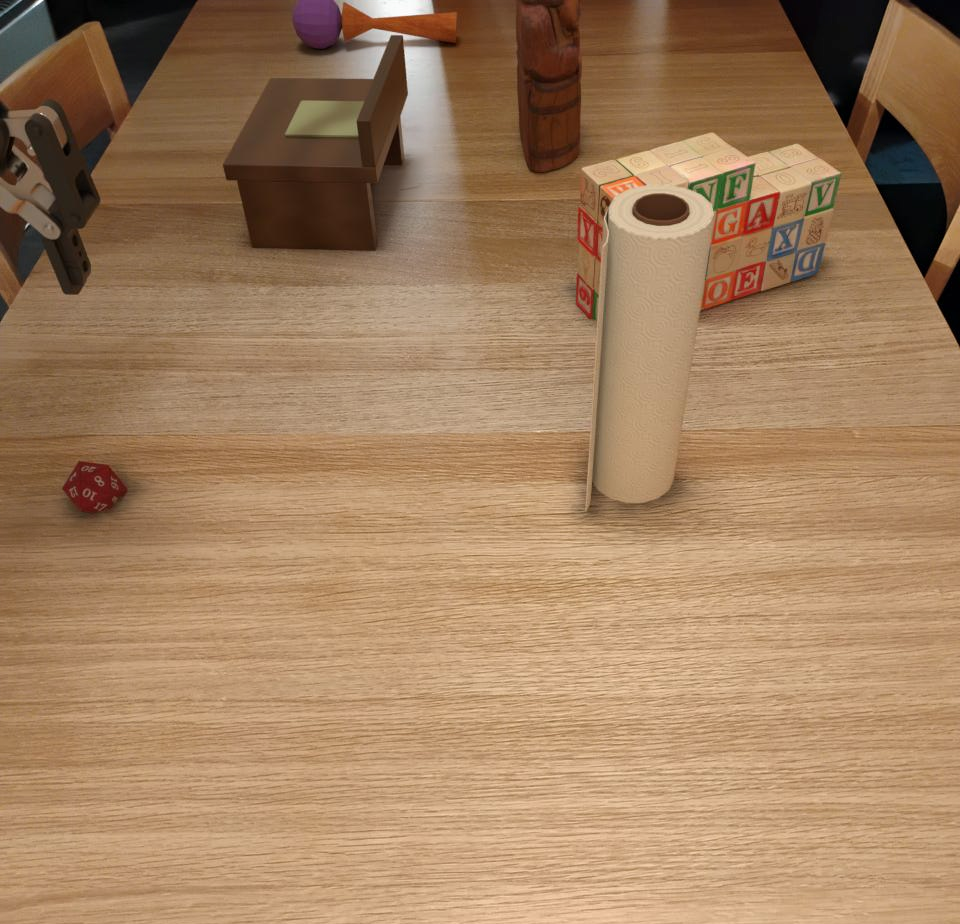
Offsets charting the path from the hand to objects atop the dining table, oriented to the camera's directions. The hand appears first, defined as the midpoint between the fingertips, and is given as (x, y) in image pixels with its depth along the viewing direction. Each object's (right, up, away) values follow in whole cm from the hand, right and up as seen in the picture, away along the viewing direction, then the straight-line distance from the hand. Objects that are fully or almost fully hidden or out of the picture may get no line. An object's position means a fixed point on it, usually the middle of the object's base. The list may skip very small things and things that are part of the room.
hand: (10, 287), depth 61 cm
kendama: (+16, +52, +64) cm, 84 cm away
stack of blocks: (+48, +9, +28) cm, 56 cm away
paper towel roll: (+39, -11, +13) cm, 42 cm away
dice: (+1, -12, +13) cm, 18 cm away
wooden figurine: (+36, +31, +46) cm, 66 cm away
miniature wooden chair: (+14, +23, +40) cm, 48 cm away
